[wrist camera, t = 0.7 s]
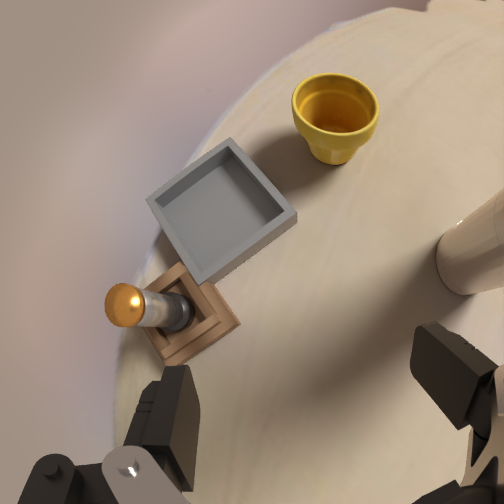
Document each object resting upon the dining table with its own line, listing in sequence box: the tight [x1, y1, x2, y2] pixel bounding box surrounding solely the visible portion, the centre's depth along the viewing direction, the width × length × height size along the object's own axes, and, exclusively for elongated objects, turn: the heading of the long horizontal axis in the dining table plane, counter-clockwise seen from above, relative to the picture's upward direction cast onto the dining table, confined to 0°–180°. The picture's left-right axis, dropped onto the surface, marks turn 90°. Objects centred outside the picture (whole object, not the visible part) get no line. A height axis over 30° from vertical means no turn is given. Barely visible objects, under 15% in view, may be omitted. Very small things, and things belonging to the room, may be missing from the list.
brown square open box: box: [143, 260, 241, 366], centre depth 35 cm, size 10×10×4 cm
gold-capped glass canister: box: [105, 283, 195, 331], centre depth 28 cm, size 4×4×12 cm
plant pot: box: [292, 73, 379, 165], centre depth 35 cm, size 10×10×10 cm
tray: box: [146, 137, 297, 286], centre depth 38 cm, size 14×14×4 cm
